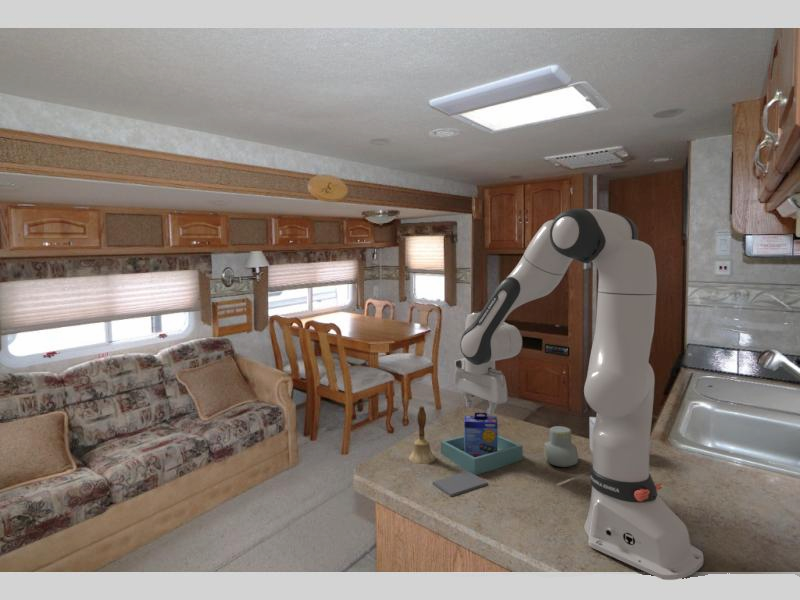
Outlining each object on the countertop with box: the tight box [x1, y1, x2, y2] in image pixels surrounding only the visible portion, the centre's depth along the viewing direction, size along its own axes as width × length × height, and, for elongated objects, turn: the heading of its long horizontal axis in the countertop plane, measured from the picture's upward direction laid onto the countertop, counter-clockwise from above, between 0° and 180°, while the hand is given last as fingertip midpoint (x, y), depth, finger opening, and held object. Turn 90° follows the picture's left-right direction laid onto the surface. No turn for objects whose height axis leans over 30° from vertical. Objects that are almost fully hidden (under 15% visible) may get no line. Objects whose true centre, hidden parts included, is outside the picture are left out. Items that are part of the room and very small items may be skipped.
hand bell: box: [408, 406, 436, 465], centre depth 137 cm, size 8×8×16 cm
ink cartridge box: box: [463, 412, 499, 457], centre depth 136 cm, size 10×6×14 cm, turn 83°
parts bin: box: [440, 434, 524, 476], centre depth 137 cm, size 16×18×4 cm
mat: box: [432, 471, 489, 497], centre depth 120 cm, size 8×12×1 cm, turn 120°
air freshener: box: [543, 425, 579, 468], centre depth 132 cm, size 11×8×10 cm
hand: (479, 410), depth 136 cm, fingers open, 8 cm apart
